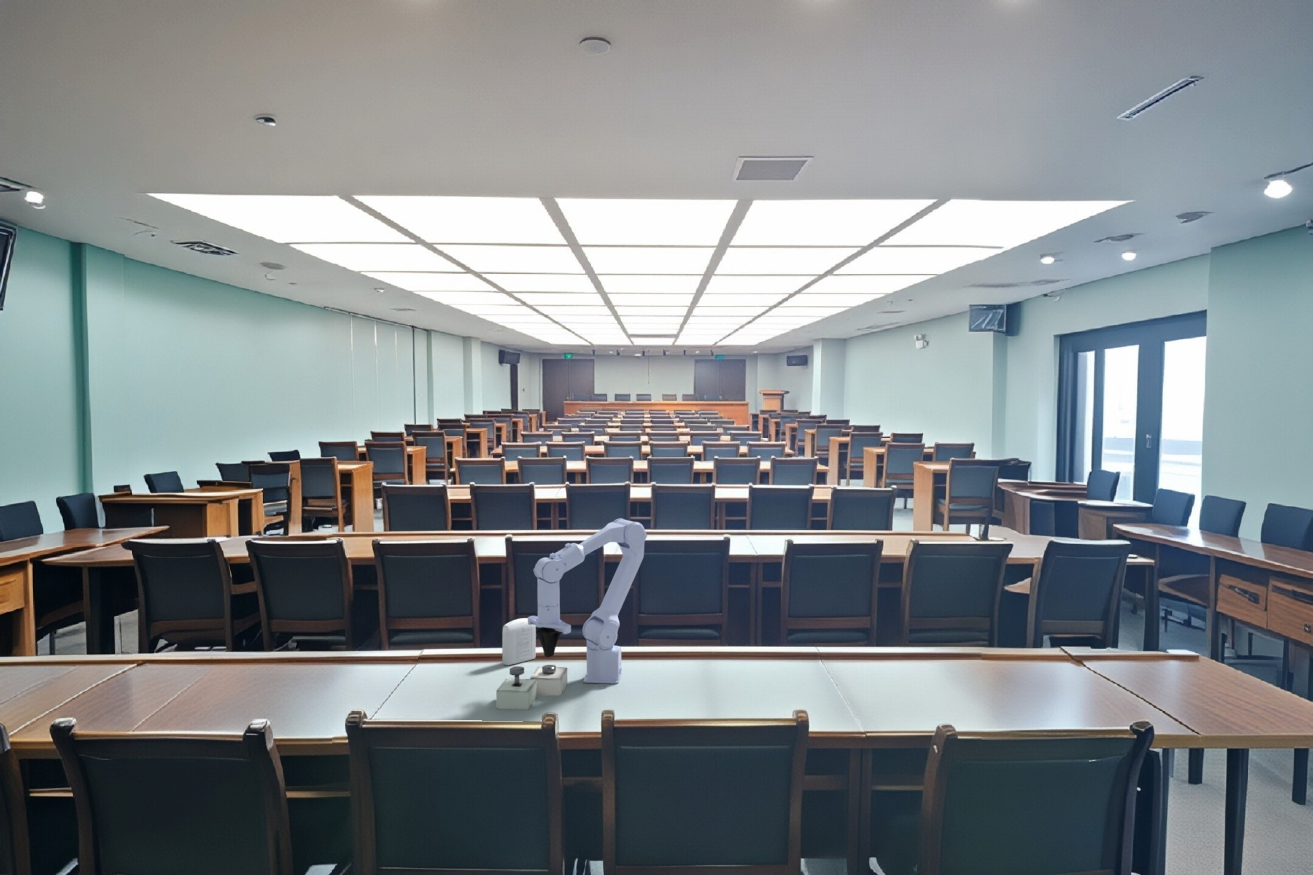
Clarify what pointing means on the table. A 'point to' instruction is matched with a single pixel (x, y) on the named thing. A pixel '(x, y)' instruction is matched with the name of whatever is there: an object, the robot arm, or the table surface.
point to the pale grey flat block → (516, 694)
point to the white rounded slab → (518, 641)
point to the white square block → (550, 681)
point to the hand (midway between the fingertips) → (549, 655)
